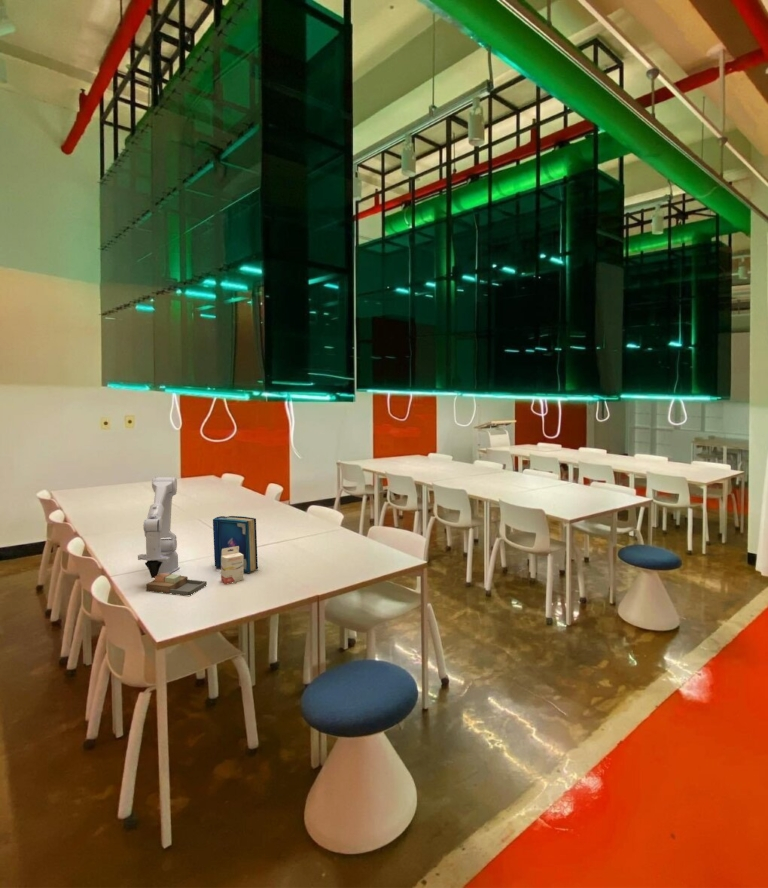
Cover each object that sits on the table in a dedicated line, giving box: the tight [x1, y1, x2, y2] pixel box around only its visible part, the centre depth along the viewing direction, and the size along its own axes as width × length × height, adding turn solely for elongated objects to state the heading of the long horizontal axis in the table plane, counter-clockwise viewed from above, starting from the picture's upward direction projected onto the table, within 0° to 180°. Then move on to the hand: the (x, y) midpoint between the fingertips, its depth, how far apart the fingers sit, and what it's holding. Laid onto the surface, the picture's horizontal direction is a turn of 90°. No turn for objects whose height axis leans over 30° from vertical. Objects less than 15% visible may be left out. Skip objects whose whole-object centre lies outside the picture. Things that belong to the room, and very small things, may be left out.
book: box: [212, 515, 259, 574], centre depth 231 cm, size 22×7×25 cm, turn 68°
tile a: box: [154, 573, 172, 582], centre depth 208 cm, size 4×4×2 cm
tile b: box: [165, 573, 182, 583], centre depth 207 cm, size 4×4×2 cm
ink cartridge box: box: [220, 546, 245, 585], centre depth 216 cm, size 9×5×15 cm, turn 131°
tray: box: [170, 579, 207, 596], centre depth 206 cm, size 12×9×2 cm
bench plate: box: [145, 575, 188, 594], centre depth 208 cm, size 12×11×3 cm
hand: (154, 577), depth 209 cm, fingers closed
